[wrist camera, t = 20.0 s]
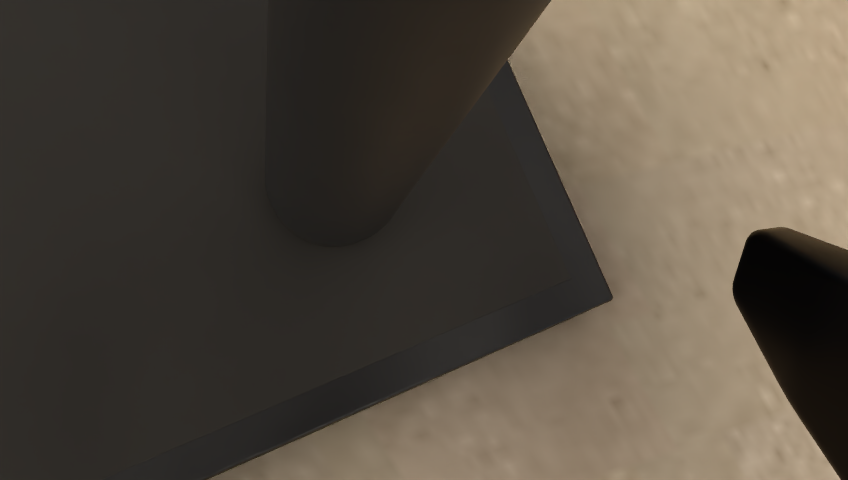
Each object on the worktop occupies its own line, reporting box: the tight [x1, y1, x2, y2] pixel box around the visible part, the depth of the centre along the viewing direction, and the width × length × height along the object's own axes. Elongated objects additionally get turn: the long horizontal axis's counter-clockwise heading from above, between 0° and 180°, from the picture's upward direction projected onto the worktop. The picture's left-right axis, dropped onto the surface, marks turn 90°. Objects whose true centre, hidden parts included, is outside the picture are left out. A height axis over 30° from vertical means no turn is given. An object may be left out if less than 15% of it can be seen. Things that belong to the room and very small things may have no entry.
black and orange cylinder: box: [265, 0, 551, 247], centre depth 10 cm, size 3×3×13 cm
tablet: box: [0, 0, 613, 480], centre depth 16 cm, size 20×13×1 cm, turn 113°
